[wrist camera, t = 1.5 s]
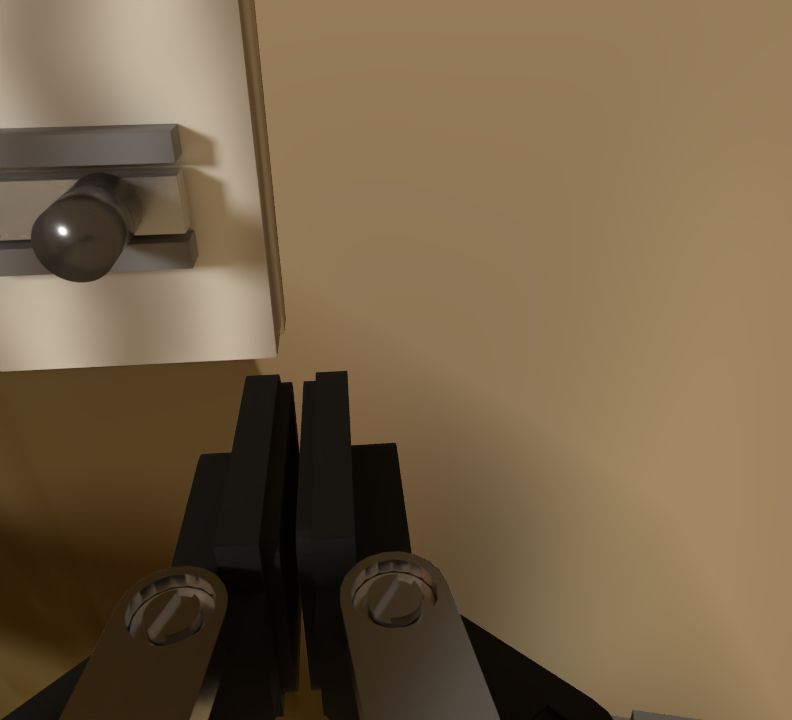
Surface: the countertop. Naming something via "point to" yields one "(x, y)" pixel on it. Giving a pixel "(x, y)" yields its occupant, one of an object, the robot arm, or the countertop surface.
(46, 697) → the robot arm
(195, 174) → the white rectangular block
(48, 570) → the countertop surface
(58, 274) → the bolt
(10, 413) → the countertop surface
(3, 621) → the countertop surface
